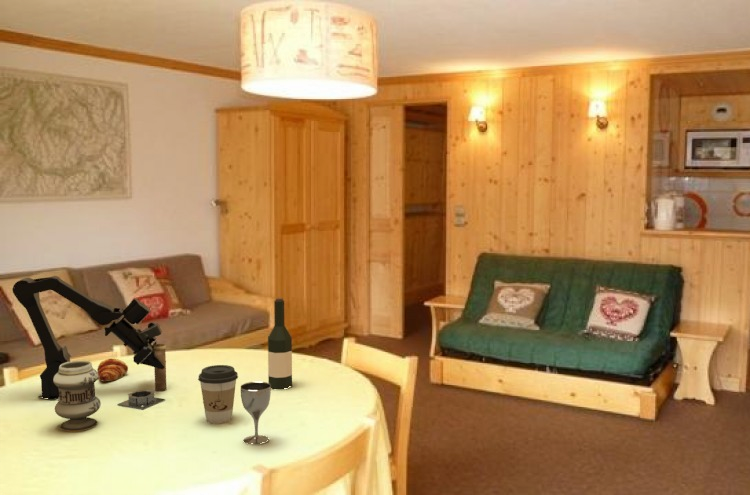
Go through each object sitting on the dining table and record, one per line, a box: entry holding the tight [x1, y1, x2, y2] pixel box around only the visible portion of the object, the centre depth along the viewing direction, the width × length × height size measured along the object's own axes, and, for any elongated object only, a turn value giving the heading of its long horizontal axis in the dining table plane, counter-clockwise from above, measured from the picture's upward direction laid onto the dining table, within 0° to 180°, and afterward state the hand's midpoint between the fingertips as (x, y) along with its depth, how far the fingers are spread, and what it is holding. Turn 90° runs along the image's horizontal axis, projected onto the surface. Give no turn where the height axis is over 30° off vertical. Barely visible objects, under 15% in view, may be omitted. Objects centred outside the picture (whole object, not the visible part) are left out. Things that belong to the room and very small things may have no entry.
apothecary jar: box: [53, 360, 102, 433], centre depth 202 cm, size 12×12×18 cm
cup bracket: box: [117, 389, 166, 411], centre depth 223 cm, size 10×10×3 cm
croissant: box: [96, 358, 129, 382], centre depth 252 cm, size 21×10×8 cm, turn 6°
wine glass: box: [240, 381, 272, 445], centre depth 192 cm, size 8×8×15 cm
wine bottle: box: [267, 297, 293, 390], centre depth 239 cm, size 8×8×30 cm
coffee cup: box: [197, 364, 239, 425], centre depth 208 cm, size 11×11×15 cm
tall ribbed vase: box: [153, 343, 168, 392], centre depth 236 cm, size 4×4×15 cm
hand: (164, 365), depth 236 cm, fingers open, 6 cm apart
